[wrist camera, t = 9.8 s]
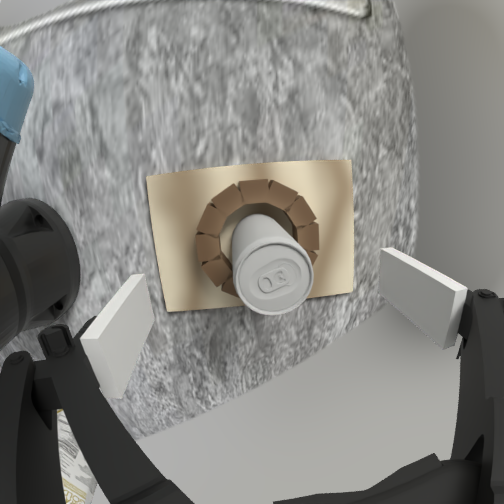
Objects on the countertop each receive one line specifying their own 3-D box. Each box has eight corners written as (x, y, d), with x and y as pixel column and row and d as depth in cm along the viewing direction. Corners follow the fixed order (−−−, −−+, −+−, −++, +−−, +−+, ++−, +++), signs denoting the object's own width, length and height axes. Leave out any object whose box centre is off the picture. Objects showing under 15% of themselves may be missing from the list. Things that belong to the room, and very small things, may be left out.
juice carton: (81, 385, 32) (27, 485, 14) (124, 423, 34) (91, 526, 16) (58, 399, 33) (9, 486, 15) (97, 434, 35) (64, 523, 17)
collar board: (168, 309, 30) (162, 322, 27) (147, 176, 27) (138, 176, 24) (350, 289, 31) (361, 300, 28) (348, 160, 27) (360, 158, 25)
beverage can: (288, 249, 29) (326, 297, 17) (243, 269, 29) (253, 330, 17) (269, 204, 27) (299, 224, 16) (223, 225, 28) (218, 260, 16)
